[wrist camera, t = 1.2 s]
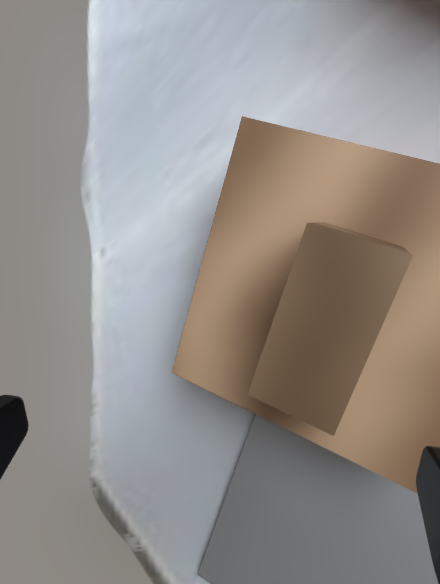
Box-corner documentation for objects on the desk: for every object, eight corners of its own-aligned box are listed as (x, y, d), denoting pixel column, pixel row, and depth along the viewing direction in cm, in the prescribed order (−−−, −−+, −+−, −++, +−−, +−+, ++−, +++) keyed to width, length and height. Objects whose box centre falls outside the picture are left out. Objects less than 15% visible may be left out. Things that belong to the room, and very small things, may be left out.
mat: (577, 551, 18) (581, 558, 17) (444, 730, 22) (446, 739, 21) (261, 400, 22) (259, 403, 22) (199, 569, 26) (197, 574, 26)
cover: (580, 202, 12) (690, 191, 8) (425, 485, 16) (443, 586, 12) (248, 121, 16) (200, 83, 12) (179, 366, 19) (122, 409, 15)
